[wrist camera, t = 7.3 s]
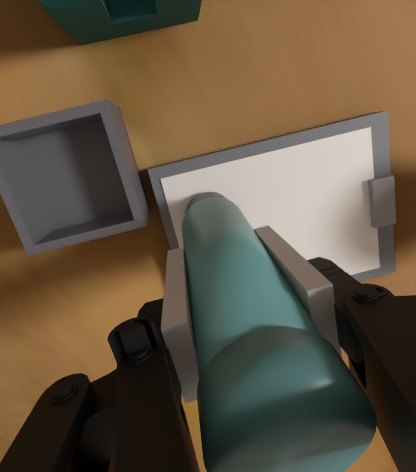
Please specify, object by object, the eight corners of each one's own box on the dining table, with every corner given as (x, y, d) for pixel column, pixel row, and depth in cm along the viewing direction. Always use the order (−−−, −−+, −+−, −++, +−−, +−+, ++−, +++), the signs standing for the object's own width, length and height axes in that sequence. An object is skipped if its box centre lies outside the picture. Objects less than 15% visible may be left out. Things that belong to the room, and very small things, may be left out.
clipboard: (149, 168, 20) (146, 170, 18) (375, 112, 20) (394, 109, 18) (191, 315, 23) (192, 329, 21) (384, 265, 23) (401, 275, 22)
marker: (171, 193, 18) (185, 409, 6) (234, 179, 18) (381, 361, 6) (185, 248, 20) (220, 512, 7) (243, 235, 20) (373, 472, 7)
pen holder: (9, 133, 18) (-28, 131, 15) (119, 107, 18) (106, 99, 15) (52, 237, 20) (27, 256, 17) (150, 212, 20) (145, 226, 17)
